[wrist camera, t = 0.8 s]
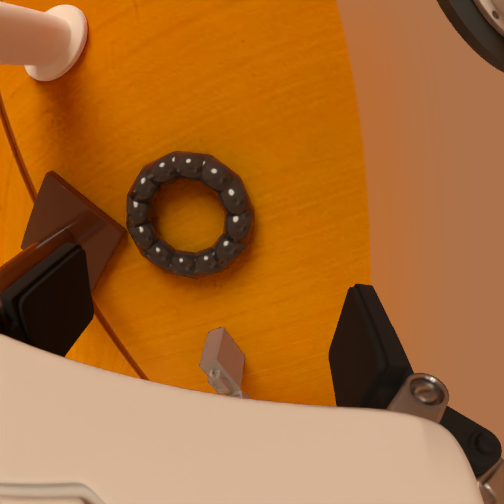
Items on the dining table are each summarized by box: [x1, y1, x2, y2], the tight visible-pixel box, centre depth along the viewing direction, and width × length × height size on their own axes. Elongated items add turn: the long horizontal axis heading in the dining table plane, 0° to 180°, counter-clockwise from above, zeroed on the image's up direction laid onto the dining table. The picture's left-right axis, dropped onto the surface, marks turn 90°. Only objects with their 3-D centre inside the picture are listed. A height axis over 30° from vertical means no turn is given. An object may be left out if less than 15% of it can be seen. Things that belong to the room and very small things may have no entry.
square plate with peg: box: [0, 171, 126, 307], centre depth 21 cm, size 9×9×11 cm
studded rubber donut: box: [126, 151, 254, 279], centre depth 23 cm, size 10×10×2 cm
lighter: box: [199, 327, 250, 399], centre depth 26 cm, size 7×2×8 cm, turn 29°
